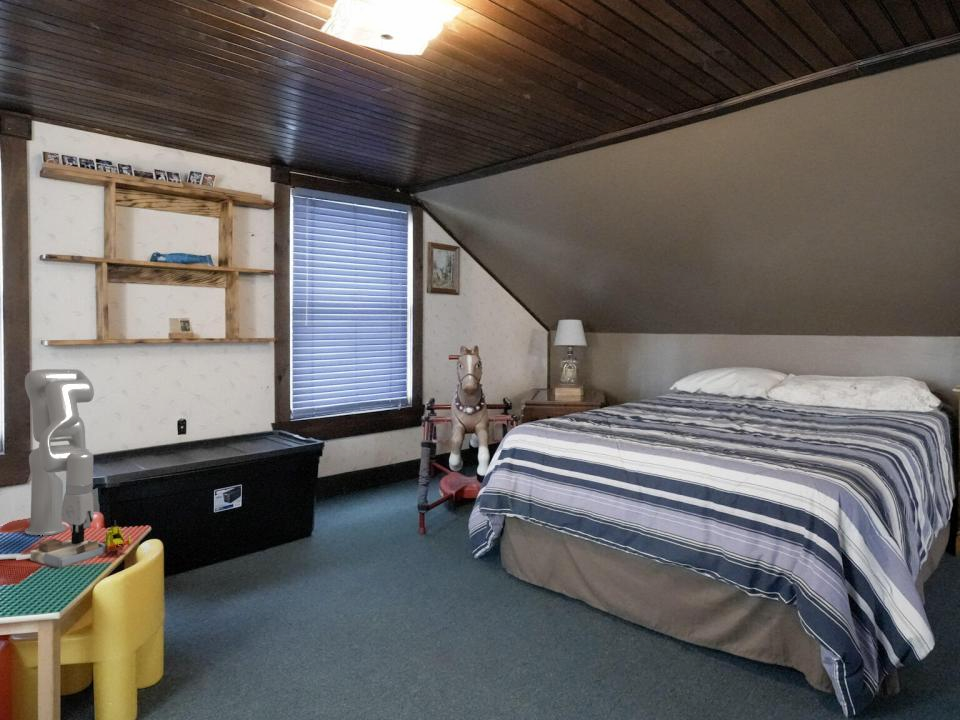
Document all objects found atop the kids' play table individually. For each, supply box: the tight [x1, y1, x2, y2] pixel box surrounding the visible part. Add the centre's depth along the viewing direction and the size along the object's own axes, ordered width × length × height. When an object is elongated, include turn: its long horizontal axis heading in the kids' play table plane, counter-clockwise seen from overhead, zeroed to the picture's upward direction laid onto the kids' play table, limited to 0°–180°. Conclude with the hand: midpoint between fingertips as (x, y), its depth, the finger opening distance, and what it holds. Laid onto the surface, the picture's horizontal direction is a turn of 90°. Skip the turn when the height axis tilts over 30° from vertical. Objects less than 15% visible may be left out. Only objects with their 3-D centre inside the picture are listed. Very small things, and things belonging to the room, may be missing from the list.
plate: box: [30, 539, 89, 565], centre depth 202 cm, size 7×15×3 cm, turn 157°
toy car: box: [104, 520, 131, 556], centre depth 210 cm, size 6×18×10 cm, turn 40°
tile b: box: [38, 538, 63, 553], centre depth 199 cm, size 4×4×2 cm
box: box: [43, 539, 106, 570], centre depth 200 cm, size 8×15×4 cm, turn 157°
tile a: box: [76, 540, 99, 554], centre depth 203 cm, size 4×4×2 cm
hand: (77, 542), depth 204 cm, fingers closed
